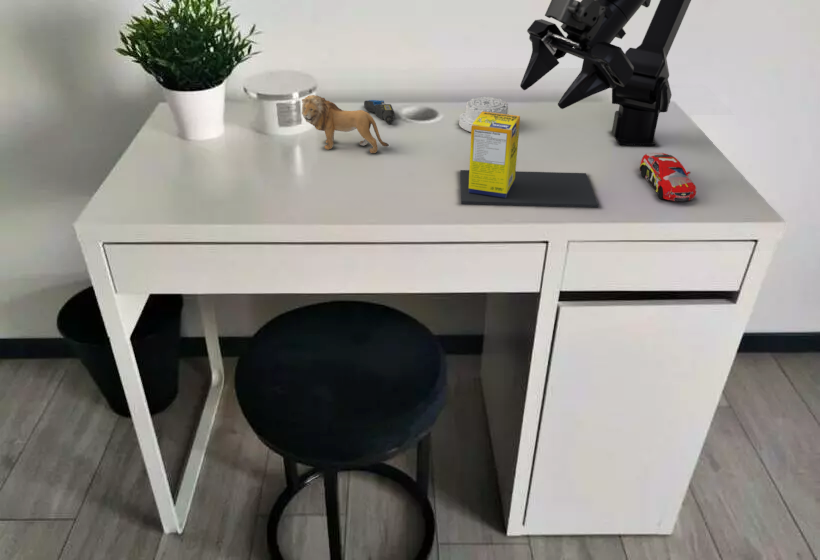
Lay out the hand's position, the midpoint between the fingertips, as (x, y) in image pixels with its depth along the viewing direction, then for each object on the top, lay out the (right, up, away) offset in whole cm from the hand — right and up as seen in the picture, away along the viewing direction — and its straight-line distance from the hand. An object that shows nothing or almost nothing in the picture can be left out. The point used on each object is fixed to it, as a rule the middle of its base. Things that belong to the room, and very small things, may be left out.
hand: (540, 97), depth 104 cm
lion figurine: (-31, -4, +18) cm, 36 cm away
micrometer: (-25, +4, +32) cm, 41 cm away
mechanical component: (-5, +2, +28) cm, 28 cm away
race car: (+21, -12, +7) cm, 25 cm away
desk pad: (-1, -13, +5) cm, 14 cm away
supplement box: (-7, -13, +4) cm, 15 cm away
